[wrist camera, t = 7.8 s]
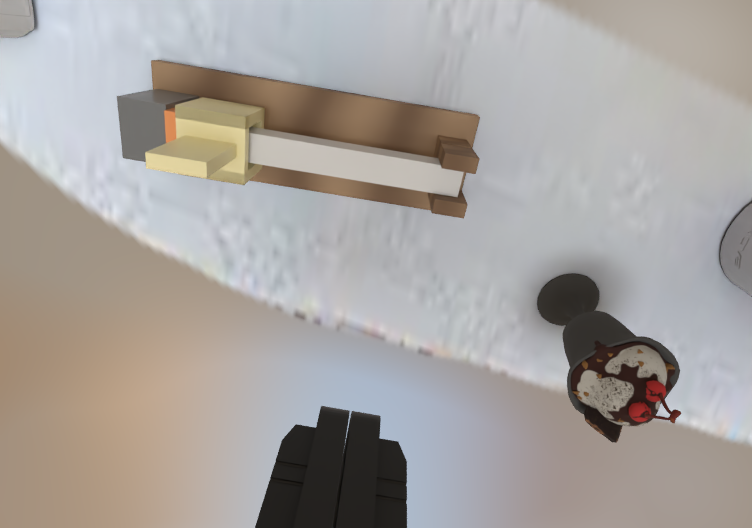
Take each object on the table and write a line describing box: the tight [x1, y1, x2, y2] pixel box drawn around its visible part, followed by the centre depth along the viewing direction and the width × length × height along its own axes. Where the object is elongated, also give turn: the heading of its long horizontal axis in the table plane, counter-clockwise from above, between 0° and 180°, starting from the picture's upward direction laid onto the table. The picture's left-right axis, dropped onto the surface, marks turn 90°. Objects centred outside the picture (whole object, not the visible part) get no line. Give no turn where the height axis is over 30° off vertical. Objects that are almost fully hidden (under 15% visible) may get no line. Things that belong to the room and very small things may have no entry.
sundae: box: [537, 274, 681, 442], centre depth 30 cm, size 7×7×15 cm
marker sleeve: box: [145, 97, 265, 185], centre depth 26 cm, size 4×4×8 cm
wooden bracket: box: [151, 60, 480, 218], centre depth 29 cm, size 22×7×6 cm, turn 81°
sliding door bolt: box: [117, 89, 464, 197], centre depth 29 cm, size 21×4×5 cm, turn 81°
